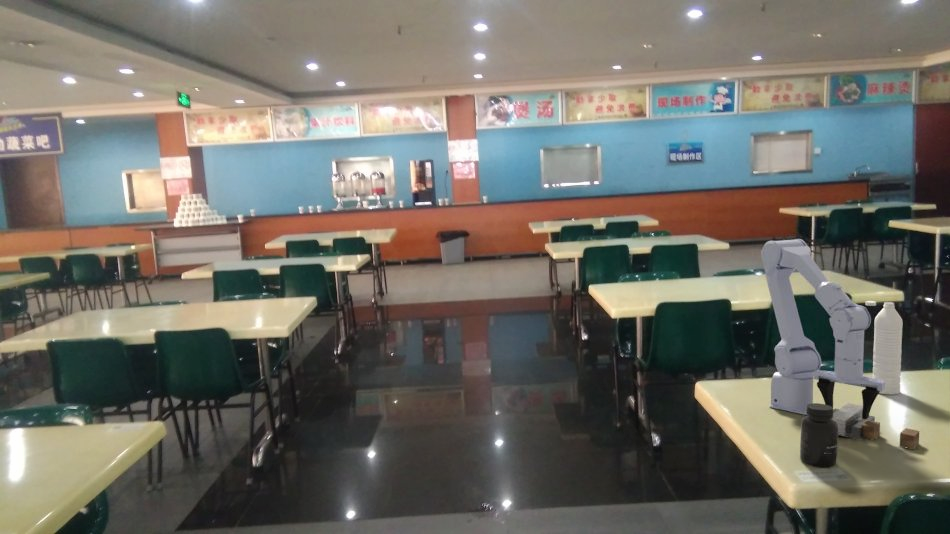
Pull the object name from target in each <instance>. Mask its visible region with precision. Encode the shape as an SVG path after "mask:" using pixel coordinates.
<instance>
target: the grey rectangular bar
mask: <svg viewBox="0 0 950 534" xmlns="http://www.w3.org/2000/svg"><path fill="white" fill-rule="evenodd" d="M838 409H839V410H838V411H836V412H835V413H833V418H832V419H833V420H834V421H835V422H836V423H837V425H838V436H840V435H842V436H841V437H844V436H846V435H847V434H848V433H850V432H851V431H852V426H854V425H855V424H856V423H858V422H859V421H860V420H861V419H862V411H863V405H858V404H854V403H849V402H848V403H846V404H845V405H843V406H842V407H841V408H838Z"/></svg>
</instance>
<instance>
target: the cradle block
mask: <svg viewBox="0 0 950 534" xmlns="http://www.w3.org/2000/svg"><path fill="white" fill-rule="evenodd" d="M839 409H840V408H833V413H835V412H836V411H838V410H839ZM866 420H870V421H875V420H876V419H875V416H873V415H869V417H868V418H867V419H861V420H860V421H859V422H858V423H856V424H855V425H854V426H852V431H851V432H850V433H848V434H847V435H846V436H845V438H848V437H850V438H849V439H853V438H855V439H854V440H857V439H858V440H857V441H862V440H864V439H865V438H864V434H863V426H862V425H861V424H863V423H864V422H865V421H866ZM875 422H876V421H875ZM841 437H843V436H842V435H841Z"/></svg>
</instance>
